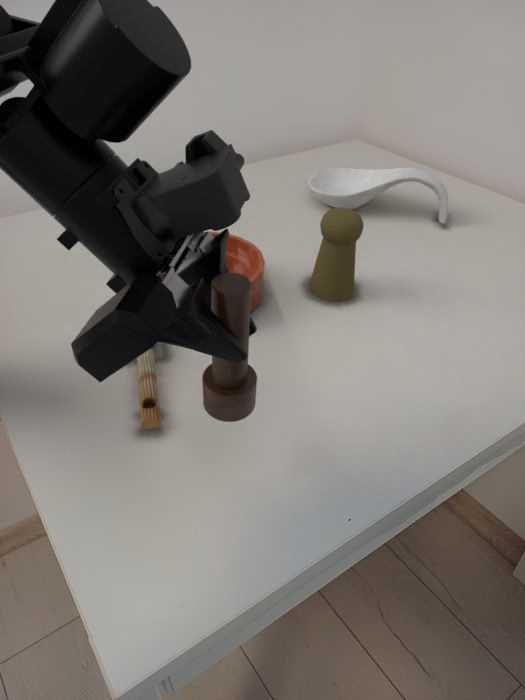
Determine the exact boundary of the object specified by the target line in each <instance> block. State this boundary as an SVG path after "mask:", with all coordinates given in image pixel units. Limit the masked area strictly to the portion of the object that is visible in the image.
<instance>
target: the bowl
mask: <svg viewBox="0 0 525 700" xmlns="http://www.w3.org/2000/svg"><path fill="white" fill-rule="evenodd" d="M207 231H208V232H209V233H210V234H211V235H212V236H213V237H216V236H217V235H218V234H220V233H221V232H219V231H209V230H207ZM207 231H204V232H205V233H206V232H207ZM226 264H227V267H228V269H229V272H230V273H239V274H242V275H244V276H246V277H247V278H248V279H249V280H250V281H251V307H250V312H251V311H253V310H254V309H255V308H256V307H257V306H258V305H259V303H260V302H261V300H262V298H263V292H264V281H265V265H266V260H265V258H264V255H263V252H262V250H260V249H259V248H258V247H257V246H256V245H255V244H254V243H252V242H251V241H249V240H247V239H244V238H243V237H241V236H239V235H234V234H230V233H229V237H228V240H227V250H226ZM159 274H160V271H159V272H158V274H157V276H158V275H159Z"/></svg>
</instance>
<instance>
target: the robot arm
mask: <svg viewBox="0 0 525 700" xmlns="http://www.w3.org/2000/svg"><path fill="white" fill-rule="evenodd" d="M191 69H192V58H191V54H190V52H189V49H188V47H187V45H186V42H185V41H184V38H183V37H182V36H181V34H180V32H179V30H178V29H177V28H176V26H175V25H174V23H173V22H172V21H171V19H170V18H169V17H168V16H167V14H166V13H165V12H164V11H163V10H162V8H160V7H159V6H158V5H155V6H153V4H152V3H151V2H150V1H148V0H54V2H53V3H52V4H51V6H50V8H49V9H48V11H47V12H46V14H45V15H44V17H43V19H42V20H41V21H40V22H38V21H34V20H31V19H27V18H24V17H21V16H17V15H13V14H9V13H8V12H7V10H6V9H5V8H4V7H3V5H2V4H0V98H2V97H4V96H6V95H8V94H10V93H12V92H14V90H15V89H16V88H17V87H18V86H19V85H20V84H22V83H24V82H26V81H30V82H31V83H32V84H33V87H31V89H30V90H29V92H28V94H27V95H26V96H12V97H9V98H6V99H5V100H3V101H2V102H1V103H0V170H1V171H2V172H3V173H4V174H5V175H7V176H8V178H10V179H11V180H12V181H13V182H14V183H15V184H16V185H17V186H18V187H19V188H21V189H22V190H23V191H24V192H25V193H26V194H27V196H29V197H31V199H32V200H33V201H34V202H36V203H37V204H38V205H39V206H40V207H41V208H42V209H43V210H44V211H45V212H47V213H48V214H49V215H50V216H51V217H53V219H54V220H55V221H56V222H57V223H58V224H59V225H61V227H63V228H64V231H63V232H62V233H61V234H60V235H59V236H58V237H57V238H56V240H57V241H58V243H59V244H61V245H62V246H63V247H64V248H65V249H66V250H67V251H70V250H71V249H72V248H73V247H74V246H76V244H77V243H80V244H81V245H82V246H83V247H84V248H85V249H86V250H88V251H89V252H90V253H91V254H92V255H93V256H94V257H95V258H96V259H97V260H98V261H100V263H102V264H103V265H104V267H106V268H107V269H108V270H109V271H110V272H111V273H112V275H111V277H110V278H109V280H108V281H107V282H106V283H105V285H106V286H107V287H108V288H109V289H110V290H112V292H114V293H115V294H114V295H113V296H112V297H111V298H109V299H108V300H107V301H105V302H104V303H103V304H102V305H101V306H100V307H98V308H97V309H96V310H95V312H93V314H92V315H91V317H90V318H89V319H88V320H87V322H86V323H85V324H84V326H83V327H82V328H81V330H80V331H79V333H78V334H77V335H76V337H75V338H74V339H73V340H72V342H71V343H70V346H71V349H72V350H71V351H72V354H73V359H74V361H75V362H76V363H77V365H78V366H79V367H80V368H82V369H83V371H85V372H86V373H88V374H89V375H90V376H91V377H93V378H94V379H95V380H96V381H97V382H99V383H102V382H103V381H105V380H106V379H107V378H109V377H111V376H112V375H114V374H115V373H117V372H118V371H120V370H121V369H123V368H124V367H126V366H127V365H129V364H130V363H132V362H134V361H133V360H134V359H136V358H137V357H139V356H140V355H142V354H143V353H145V352H146V351H148V350H149V349H151V348H152V347H153V346H154V345H155V344H156V343H157V342H161V343H162V344H165V345H171V346H176V347H181V348H185V349H188V350H193V351H195V352H198V353H202V354H204V355H208V356H211V357H212V356H215V357H218V358H221V359H224V360H228V361H231V362H234V363H240V362H242V361H244V360H245V359H247V356H248V357H249V352H248V353H247V352H246V351H245V349H244V348H243V346H242V345H241V344H240V342H239V341H238V340H237V339H236V338H235V336H234V335H233V334H232V333H231V332H230V331H229V330H228V328H227V327H226V326H225V325H224V324H223V323H222V322H221V321H220V319H219V318H218V317H217V316H216V315H215V314H214V313H213V311H212V310H211V281H212V280H213V278H214V277H216V276H217V275H219V274H223V273H230V272H229V269H228V267H227V264H226V250H227V240H228V237H229V234H230V231H229V229H228V228H229V227H231V226H233V225H234V224H236V222H238V221H239V220H240V218H241V216H242V208H243V207H244V205H245V204H246V202H248V201H249V200H250V198H251V194H250V191H249V189H248V187H247V185H246V181H245V180H244V179H245V178H244V176H243V175H242V171H241V170H242V168H243V166H244V165H245V157H244V156H243V155H242V154H240V153H237V152H236V151H235V149H234V146H233V143H229V144H227V142H225V141H224V140H223V139H222V138H221V137H220V136H219V135H218V134H217V133H216V132H215V131H214V130H212V129H210V130H207V131H205V132H201V133H199V134H197V135H196V134H195V135H194V136H193V137H192V138H191V139H190V140H189V141H188V142H187V144H186V145H185V150H184V152H185V162H184V161H179V162H177V163H176V165H174V167H172V168H170V169H168V170H165V171H162V172H158V171H157V170H155V168H154V167H153V166H152V165H151V164H150V163H149V162H148V161H146V160H141V159H140V158H139V157H137V158H136V159H135V160H134V161H133V162H132V163H130V164H129V165H127V164H126V162H125V161H124V160H123V159H122V158H121V157H120V156H119V155H118V154H117V153H116V152H115V151H114V149H113V148H112V147H111V146H109V144H108V143H114V144H115V143H116V144H119V143H123V142H126V141H128V140H129V138H130V137H131V136H132V135H133V134H134V133H135V132H136V131H137V130H138V129H139V128H140V127H141V126H142V125H143V123H144V122H145V121H146V120H147V119H148V118H149V117H150V116H151V115H152V114H153V113H154V112H155V111H156V109H157V108H158V107H159V106H160V105H161V104H162V103H163V102H164V101H165V100H166V98H167V97H168V96H169V95H170V94H171V93H172V92H173V91H174V90H175V89H176V88H177V87H178V86H179V85H180V84H181V82H182V81H184V79H185V78H186V77H187V76H188V75H189V74H190V72H191ZM107 142H108V143H107ZM209 230H211V231H212V232H219V231H221V230H222V231H221V232H219V233H220V234H218V235H217V236H216V237H213V236H212V235H211V234H210V233H209V232H210V231H209ZM208 231H209V232H208ZM205 232H206V233H205ZM159 271H160V274H159V275H158V276H157V274H158V272H159ZM257 327H258V326H257V325H256V323H255V320H254V319H253V317H252V315H251V314H250V328H249V337H251V336H252V335H254V334H255V333H256V332H257V330H258V328H257Z"/></svg>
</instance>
